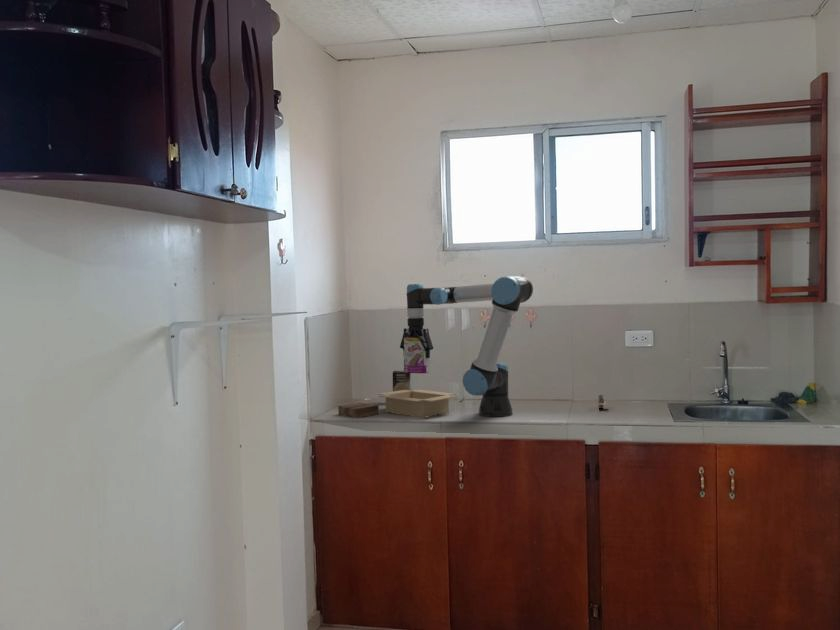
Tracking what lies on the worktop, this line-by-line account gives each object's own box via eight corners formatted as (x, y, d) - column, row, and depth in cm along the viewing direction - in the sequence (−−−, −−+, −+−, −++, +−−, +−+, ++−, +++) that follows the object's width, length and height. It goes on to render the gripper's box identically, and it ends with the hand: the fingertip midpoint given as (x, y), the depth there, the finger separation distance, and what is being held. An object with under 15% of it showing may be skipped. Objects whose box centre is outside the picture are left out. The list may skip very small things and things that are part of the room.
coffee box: (392, 404, 373) (391, 372, 373) (393, 402, 380) (393, 370, 379) (410, 404, 372) (410, 372, 372) (412, 402, 379) (411, 370, 378)
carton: (464, 412, 347) (463, 394, 347) (425, 420, 328) (424, 402, 328) (411, 404, 371) (411, 388, 370) (372, 412, 352) (372, 394, 352)
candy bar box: (403, 373, 348) (402, 337, 347) (407, 372, 353) (406, 337, 352) (426, 373, 344) (425, 337, 343) (430, 372, 349) (429, 337, 348)
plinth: (378, 414, 346) (378, 405, 346) (357, 418, 337) (357, 409, 337) (359, 411, 355) (359, 402, 355) (338, 414, 346) (338, 406, 346)
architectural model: (606, 409, 350) (606, 393, 350) (605, 412, 344) (605, 395, 344) (599, 409, 351) (599, 393, 351) (598, 411, 345) (598, 395, 345)
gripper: (440, 317, 342) (441, 365, 342) (402, 316, 358) (404, 362, 359) (429, 318, 336) (430, 366, 337) (391, 317, 353) (392, 363, 354)
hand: (416, 364), depth 348 cm, fingers closed on candy bar box, 12 cm apart
